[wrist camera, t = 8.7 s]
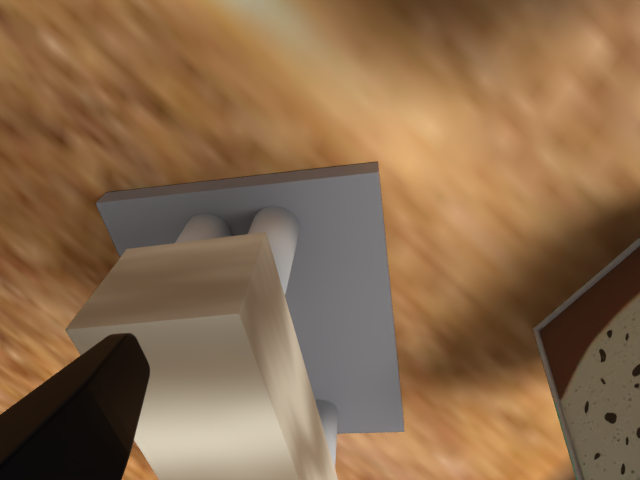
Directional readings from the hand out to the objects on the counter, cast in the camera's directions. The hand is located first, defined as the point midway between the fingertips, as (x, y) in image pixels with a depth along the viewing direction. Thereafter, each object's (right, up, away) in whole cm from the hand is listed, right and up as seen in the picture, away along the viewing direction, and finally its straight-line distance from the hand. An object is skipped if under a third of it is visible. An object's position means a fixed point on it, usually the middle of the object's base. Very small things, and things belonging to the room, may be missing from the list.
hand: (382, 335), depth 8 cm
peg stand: (-3, -2, +16) cm, 17 cm away
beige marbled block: (-4, -5, +12) cm, 14 cm away
